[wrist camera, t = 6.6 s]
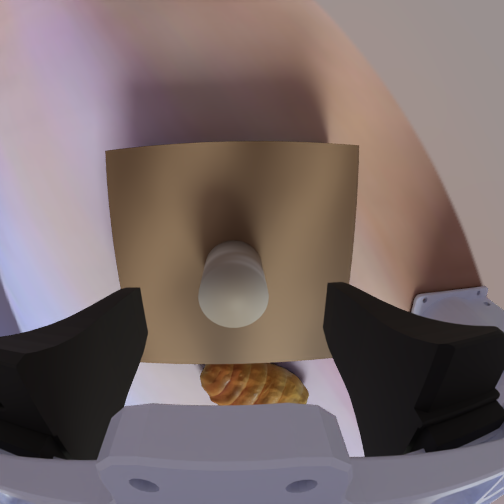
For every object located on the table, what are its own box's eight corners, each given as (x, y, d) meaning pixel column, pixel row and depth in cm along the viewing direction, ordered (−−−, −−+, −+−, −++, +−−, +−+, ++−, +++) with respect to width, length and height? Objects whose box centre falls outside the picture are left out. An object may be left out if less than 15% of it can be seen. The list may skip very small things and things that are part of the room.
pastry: (186, 379, 26) (181, 409, 22) (230, 331, 24) (230, 360, 21) (266, 419, 28) (270, 447, 24) (313, 379, 27) (323, 408, 23)
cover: (331, 144, 19) (389, 146, 11) (320, 319, 24) (353, 393, 16) (134, 148, 19) (73, 153, 11) (152, 323, 23) (123, 398, 15)
